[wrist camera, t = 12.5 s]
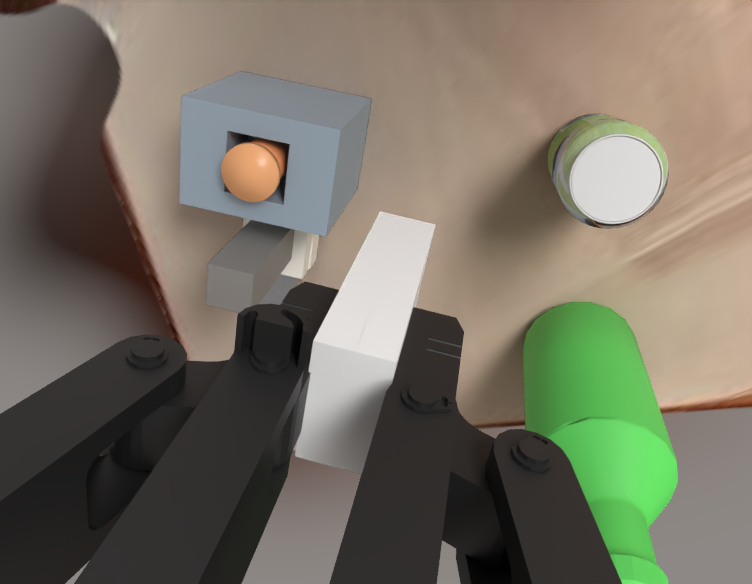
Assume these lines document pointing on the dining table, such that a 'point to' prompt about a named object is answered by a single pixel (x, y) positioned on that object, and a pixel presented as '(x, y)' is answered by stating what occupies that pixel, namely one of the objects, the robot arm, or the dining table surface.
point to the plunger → (255, 168)
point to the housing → (283, 124)
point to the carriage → (257, 263)
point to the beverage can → (607, 170)
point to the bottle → (603, 425)
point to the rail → (280, 289)
